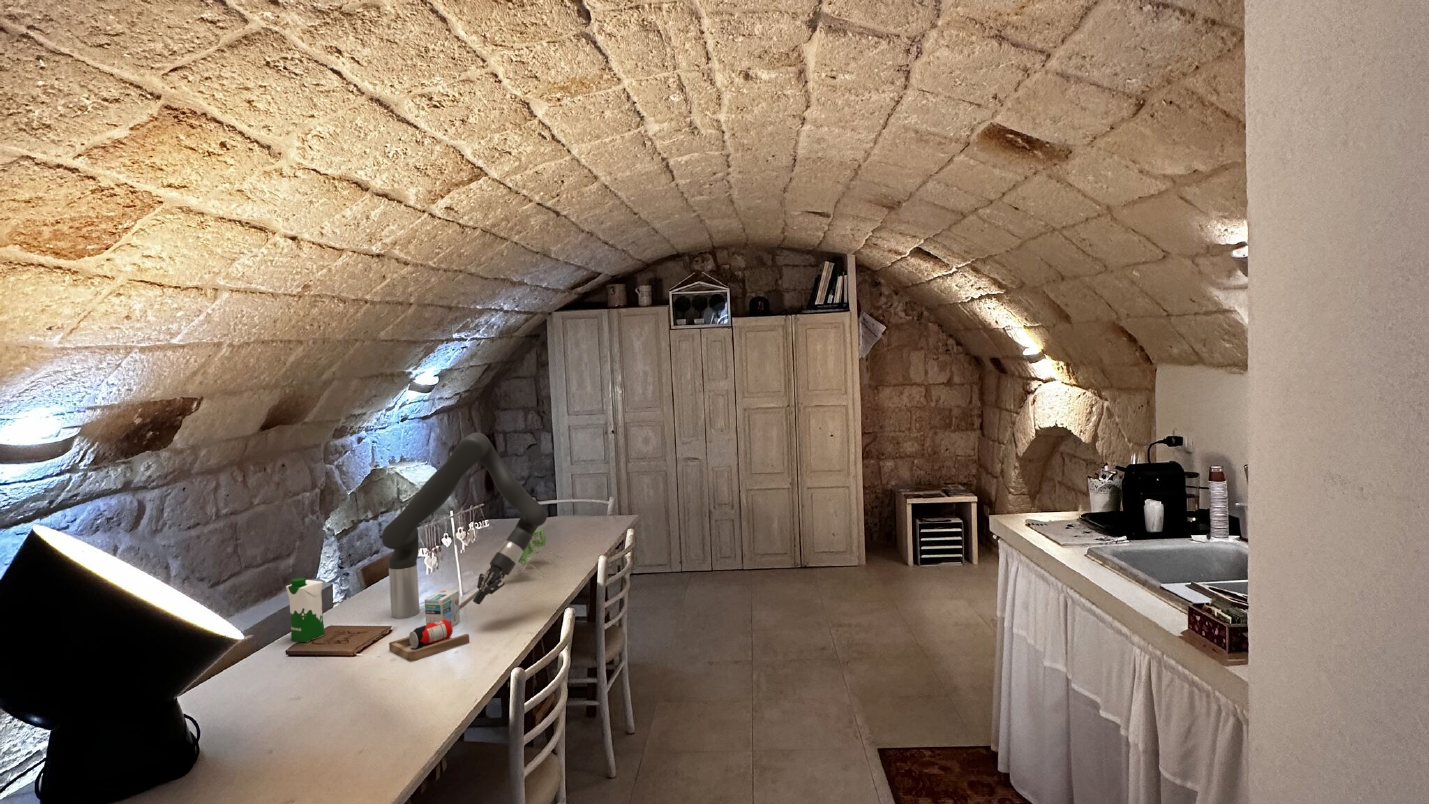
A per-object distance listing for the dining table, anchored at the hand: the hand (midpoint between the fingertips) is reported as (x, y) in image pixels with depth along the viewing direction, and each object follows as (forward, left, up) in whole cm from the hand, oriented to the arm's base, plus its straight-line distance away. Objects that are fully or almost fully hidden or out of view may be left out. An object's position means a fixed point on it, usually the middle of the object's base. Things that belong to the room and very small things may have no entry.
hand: (476, 602), depth 249 cm
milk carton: (-40, -37, -10) cm, 56 cm away
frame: (0, -16, -10) cm, 19 cm away
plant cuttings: (-43, +51, -10) cm, 68 cm away
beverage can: (-2, -9, -6) cm, 11 cm away
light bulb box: (-14, -4, -10) cm, 18 cm away
